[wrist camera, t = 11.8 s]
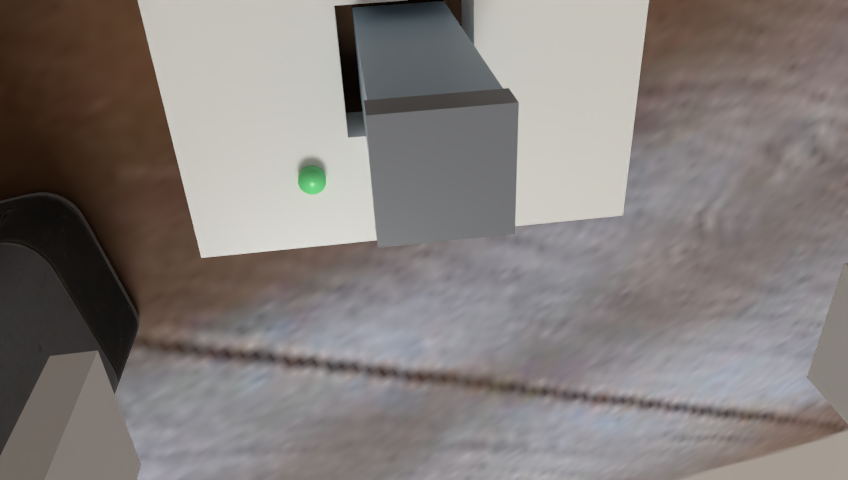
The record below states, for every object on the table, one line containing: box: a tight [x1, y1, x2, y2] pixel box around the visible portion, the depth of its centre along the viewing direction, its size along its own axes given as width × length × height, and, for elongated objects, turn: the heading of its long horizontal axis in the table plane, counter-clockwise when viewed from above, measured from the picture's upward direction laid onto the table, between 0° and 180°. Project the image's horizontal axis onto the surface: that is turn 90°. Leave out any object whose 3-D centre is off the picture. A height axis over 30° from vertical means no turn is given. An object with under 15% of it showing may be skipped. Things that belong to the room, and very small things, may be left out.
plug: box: [352, 1, 519, 248], centre depth 26 cm, size 4×4×13 cm
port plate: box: [138, 0, 649, 258], centre depth 30 cm, size 16×20×3 cm
